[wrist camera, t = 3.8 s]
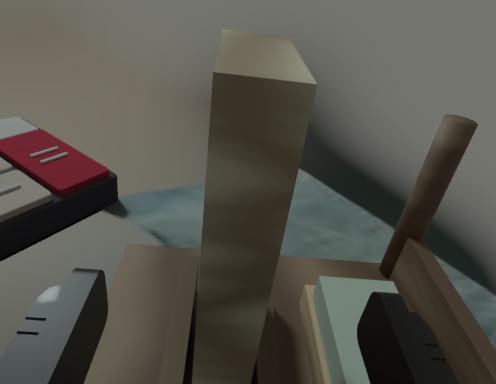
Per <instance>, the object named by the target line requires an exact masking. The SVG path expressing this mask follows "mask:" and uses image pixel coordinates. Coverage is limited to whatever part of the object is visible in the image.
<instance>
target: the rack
mask: <svg viewBox="0 0 496 384" xmlns="http://www.w3.org/2000/svg"><path fill="white" fill-rule="evenodd" d="M477 126H478V125H477V123H476V122H474V121H473V120H470V119H468V118H465V117H462V116H456V115H444V117H443V119H442V122H441V124H440V126H439V129H438V131H437V133H436V136H435V138H434V140H433V143H432V145H431V147H430V150H429V152H428V155H427V157H426V159H425V162H424V164H423V166H422V169H421V171H420V173H419V176H418V178H417V180H416V183H415V185H414V187H413V190H412V192H411V194H410V197H409V199H408V201H407V204H406V206H405V209H404V211H403V213H402V215H401V218H400V220H399V222H398V225H397V227H396V229H395V232H394V234H393V236H392V239H391V241H390V243H389V246H388V248H387V250H386V253H385V255H384V257H383V260H382V262H381V263H369V262H356V261H344V260H331V259H318V258H305V257H292V256H279V259H278V263H277V268H276V272H275V277H274V281H273V286H272V290H271V295H270V299H269V304H268V308H267V313H266V317H265V322H264V326H263V331H262V335H261V340H260V344H259V349H258V353H257V358H256V362H255V367H254V371H253V376H252V380H251V384H313V382H312V376H311V370H310V364H309V359H308V353H307V347H306V341H305V335H304V330H303V324H302V318H301V312H300V306H299V303H300V300H301V296H302V293H303V289H304V286H305V285H316V284H317V281H318V278H319V276H326V277H340V278H353V279H367V280H380V281H393V282H394V284H395V286H396V289H397V291H398V293H399V294H400V295H401V296H402V298H403V300H404V302H405V304H406V306H407V308H408V310H409V312H415V313H417V314H418V315H419V316H420V317H421V318H422V319H423V320H424V321H425V322H426V323H427V324H428V326H429V327H430V328H431V330H432V332H433V333H434V335H435V337H436V339H437V341H438V343H439V348H441V349H442V351H443V353H444V355H445V357H446V362H448V363H449V365H450V367H451V369H452V371H453V373H454V375H455V376H456V378H457V380H458V382H459V384H496V350H495V349H494V347H493V346H492V344H491V343H490V341H489V340H488V338H487V337H486V335H485V333H484V332H483V330H482V329H481V327H480V326H479V324H478V323H477V321H476V320H475V318H474V317H473V315H472V314H471V312H470V311H469V309H468V307H467V306H466V304H465V303H464V301H463V300H462V298H461V297H460V295H459V294H458V292H457V291H456V289H455V288H454V286H453V285H452V283H451V281H450V280H449V278H448V277H447V275H446V274H445V272H444V271H443V269H442V268H441V266H440V265H439V263H438V262H437V260H436V259H435V257H434V255H433V254H432V252H431V251H430V250H429V248H428V246H427V245H426V243H425V242H424V240H423V237H424V235H425V233H426V231H427V229H428V227H429V224H430V222H431V220H432V218H433V216H434V214H435V212H436V210H437V208H438V206H439V204H440V202H441V200H442V198H443V195H444V194H445V191H446V190H447V188H448V185H449V183H450V181H451V179H452V177H453V175H454V173H455V171H456V169H457V167H458V165H459V163H460V161H461V159H462V156H463V155H464V153H465V150H466V148H467V146H468V144H469V142H470V140H471V138H472V136H473V134H474V132H475V130H476V128H477ZM200 257H201V249H190V248H177V247H164V246H151V245H138V244H127V246H126V248H125V251H124V254H123V256H122V259H121V261H120V264H119V266H118V269H117V271H116V274H115V277H114V279H113V282H112V284H111V287H110V289H109V292H108V294H107V298H108V316H107V321H106V325H105V328H104V331H103V333H102V336H101V339H100V341H99V344H98V347H97V349H96V352H95V355H94V358H93V360H92V363H91V366H90V368H89V371H88V374H87V376H86V379H85V382H84V384H192V373H193V358H194V344H195V330H196V315H197V301H198V286H199V272H200Z"/></svg>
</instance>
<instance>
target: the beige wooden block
mask: <svg viewBox="0 0 496 384" xmlns="http://www.w3.org/2000/svg"><path fill="white" fill-rule="evenodd" d="M316 88H317V83H316V82H315V80H314V78H313V77H312V75H311V73H310V72H309V70H308V68H307V67H306V65H305V64H304V62H303V61H302V59H301V57H300V56H299V54H298V52H297V51H296V49H295V48H294V46H293V44H292V43H291V41H290V39H289V38H288V37H283V36H275V35H267V34H259V33H251V32H243V31H236V30H228V29H223V32H222V36H221V41H220V46H219V49H218V54H217V58H216V63H215V67H214V71H213V85H212V99H211V113H210V128H209V142H208V156H207V171H206V185H205V199H204V214H203V228H202V243H201V257H200V272H199V286H198V301H197V315H196V330H195V344H194V358H193V373H192V384H251V380H252V376H253V371H254V367H255V362H256V358H257V353H258V349H259V344H260V340H261V335H262V331H263V326H264V322H265V317H266V313H267V308H268V304H269V299H270V295H271V290H272V286H273V281H274V277H275V272H276V268H277V263H278V259H279V254H280V250H281V245H282V241H283V236H284V232H285V227H286V223H287V218H288V214H289V209H290V205H291V200H292V196H293V191H294V187H295V182H296V178H297V173H298V169H299V164H300V159H301V155H302V150H303V146H304V142H305V137H306V133H307V128H308V123H309V119H310V115H311V110H312V106H313V101H314V97H315V92H316Z"/></svg>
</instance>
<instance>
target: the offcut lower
mask: <svg viewBox="0 0 496 384" xmlns="http://www.w3.org/2000/svg"><path fill="white" fill-rule="evenodd" d="M315 287H316V285H305V286H304V289H303V293H302V296H301V300H300V303H299V306H300V312H301V318H302V324H303V330H304V335H305V341H306V347H307V353H308V359H309V364H310V370H311V376H312V382H313V384H331V382H330V378H329V373H328V369H327V364H326V359H325V355H324V350H323V345H322V341H321V336H320V331H319V327H318V322H317V317H316V313H315V308H314V303H313V299H312V297H313V294H314V290H315Z"/></svg>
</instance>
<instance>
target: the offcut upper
mask: <svg viewBox="0 0 496 384" xmlns="http://www.w3.org/2000/svg"><path fill="white" fill-rule="evenodd" d="M372 292H387V293H398V291H397V289H396V286H395V284H394V282H393V281H380V280H367V279H353V278H340V277H326V276H319V278H318V281H317V284H316V287H315V290H314V294H313V297H312V299H313V303H314V308H315V313H316V317H317V322H318V327H319V331H320V336H321V341H322V345H323V350H324V355H325V359H326V364H327V369H328V373H329V378H330V382H331V384H370V382H369V378H368V375H367V372H366V368H365V365H364V362H363V358H362V355H361V352H360V348H359V345H358V341H357V326H358V322H359V320H360V318H361V315H362V313H363V311H364V308H365V306H366V304H367V301H368V299H369V297H370V295H371V293H372ZM398 294H399V293H398Z"/></svg>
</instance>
